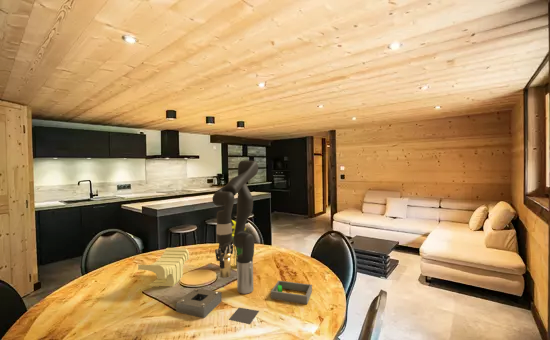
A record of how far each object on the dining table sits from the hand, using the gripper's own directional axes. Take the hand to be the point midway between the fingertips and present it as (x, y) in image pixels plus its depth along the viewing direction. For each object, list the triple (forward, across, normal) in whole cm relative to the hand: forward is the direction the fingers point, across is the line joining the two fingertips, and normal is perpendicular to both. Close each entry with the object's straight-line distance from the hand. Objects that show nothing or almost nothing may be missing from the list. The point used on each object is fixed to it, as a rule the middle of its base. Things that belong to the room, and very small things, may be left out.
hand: (225, 265), depth 128 cm
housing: (+23, 0, -15) cm, 28 cm away
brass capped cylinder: (+5, 0, 0) cm, 5 cm away
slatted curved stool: (+24, -16, -52) cm, 59 cm away
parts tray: (+23, -26, +26) cm, 44 cm away
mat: (+23, 0, +10) cm, 25 cm away
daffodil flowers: (+24, -54, -20) cm, 62 cm away
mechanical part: (+26, -20, +20) cm, 38 cm away
